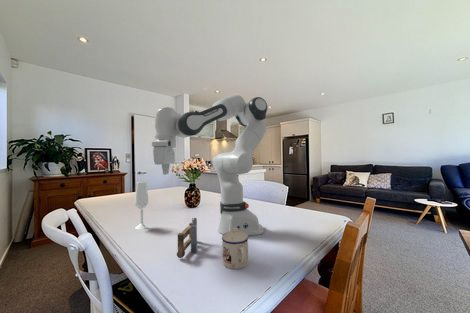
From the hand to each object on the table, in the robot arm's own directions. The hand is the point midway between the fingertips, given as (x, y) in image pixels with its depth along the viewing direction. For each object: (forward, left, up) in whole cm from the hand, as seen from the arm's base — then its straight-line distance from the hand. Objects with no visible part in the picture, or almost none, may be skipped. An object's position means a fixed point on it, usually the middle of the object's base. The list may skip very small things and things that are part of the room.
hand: (165, 174), depth 88 cm
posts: (-14, +9, -29) cm, 33 cm away
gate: (-11, +13, -29) cm, 33 cm away
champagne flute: (+18, -18, -29) cm, 39 cm away
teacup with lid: (-30, +24, -29) cm, 48 cm away
